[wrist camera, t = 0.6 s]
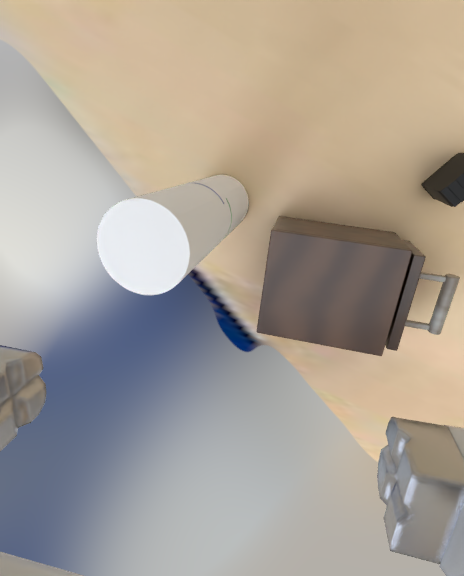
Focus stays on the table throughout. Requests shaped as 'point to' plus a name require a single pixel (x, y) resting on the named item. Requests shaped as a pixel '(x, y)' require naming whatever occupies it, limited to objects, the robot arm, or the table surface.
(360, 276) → the cabinet
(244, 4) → the table surface
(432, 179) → the ink cartridge
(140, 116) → the table surface
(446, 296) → the drawer
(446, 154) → the table surface
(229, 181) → the cylindrical container
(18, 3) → the table surface
